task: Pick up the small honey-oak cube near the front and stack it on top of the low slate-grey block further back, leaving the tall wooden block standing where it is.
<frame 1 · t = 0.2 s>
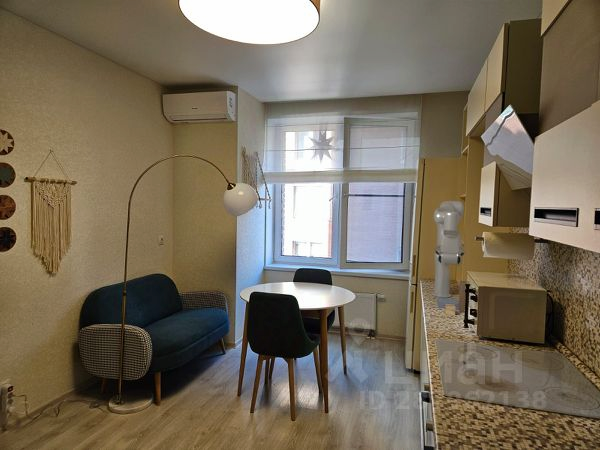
hand: (449, 263, 212), 30 cm above the worktop, tool pointing down, fingers open, 9 cm apart
slate base block: (447, 307, 230), on the worktop
oak cube: (450, 313, 215), on the worktop
wooden block: (467, 312, 219), on the worktop
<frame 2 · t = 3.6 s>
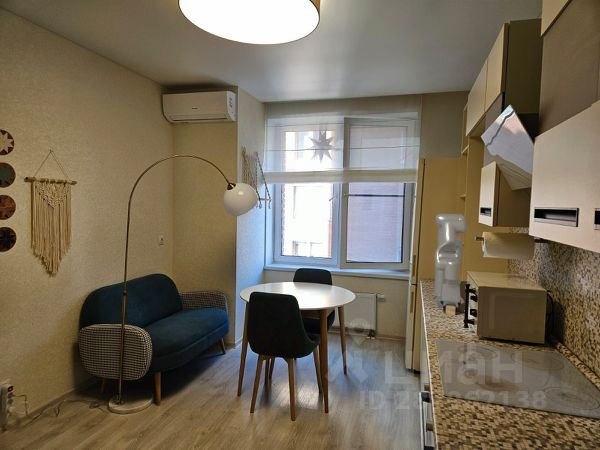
hand: (450, 312, 214), 1 cm above the worktop, tool pointing down, fingers closed on oak cube, 5 cm apart
oak cube: (450, 313, 214), on the worktop, touching gripper
everything else where it was.
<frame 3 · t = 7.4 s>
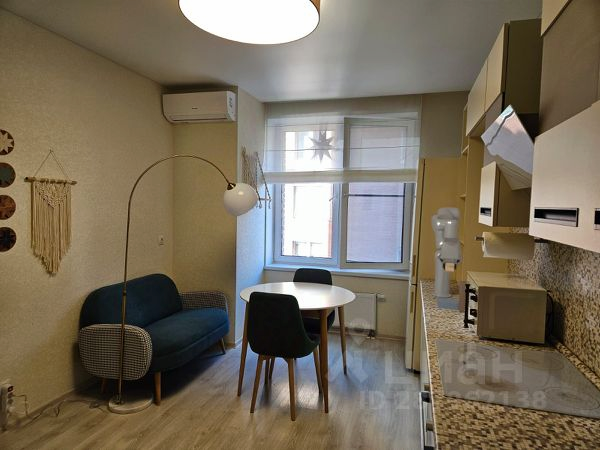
hand: (449, 269, 228), 23 cm above the worktop, tool pointing down, fingers closed on oak cube, 5 cm apart
oak cube: (449, 270, 228), point 23 cm above the worktop, touching gripper
everything else where it was.
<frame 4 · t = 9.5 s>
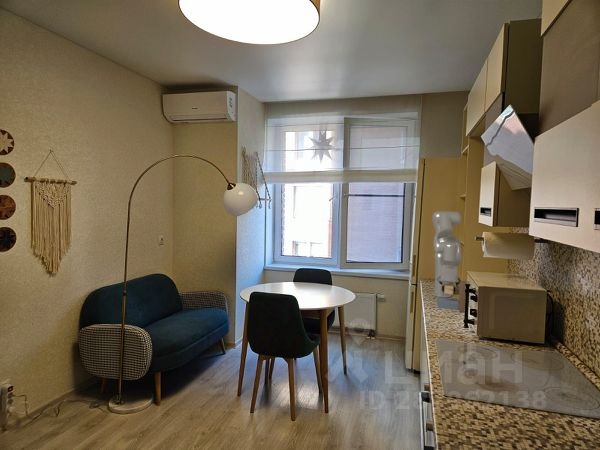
hand: (448, 292, 229), 9 cm above the worktop, tool pointing down, fingers closed on oak cube, 5 cm apart
oak cube: (448, 293, 229), point 8 cm above the worktop, touching gripper
everything else where it was.
when the fingers open (5 cm above the worktop, at t = 11.4 s): oak cube stays where it is, point 3 cm above the worktop.
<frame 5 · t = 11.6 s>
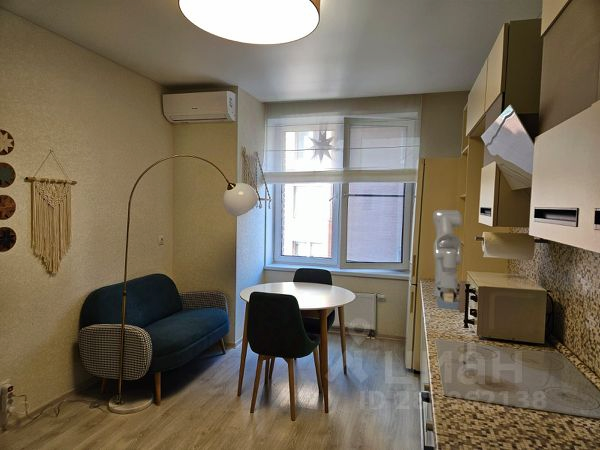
hand: (448, 298, 229), 5 cm above the worktop, tool pointing down, fingers open, 6 cm apart
oak cube: (448, 300, 229), point 3 cm above the worktop
everything else where it was.
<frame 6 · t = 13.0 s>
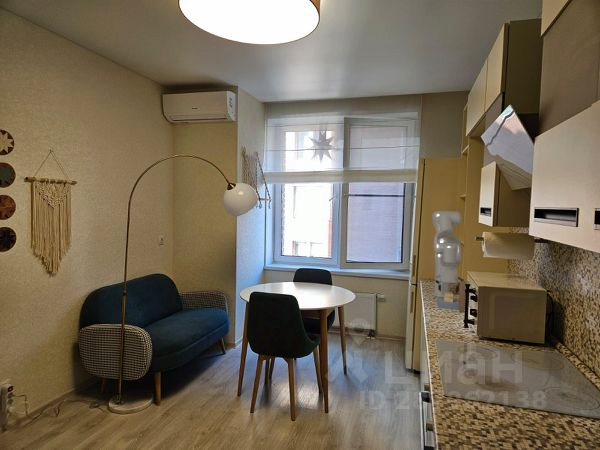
hand: (448, 291, 230), 9 cm above the worktop, tool pointing down, fingers open, 9 cm apart
slate base block: (447, 307, 230), on the worktop, touching oak cube
oak cube: (448, 301, 229), point 3 cm above the worktop, touching slate base block
everything else where it was.
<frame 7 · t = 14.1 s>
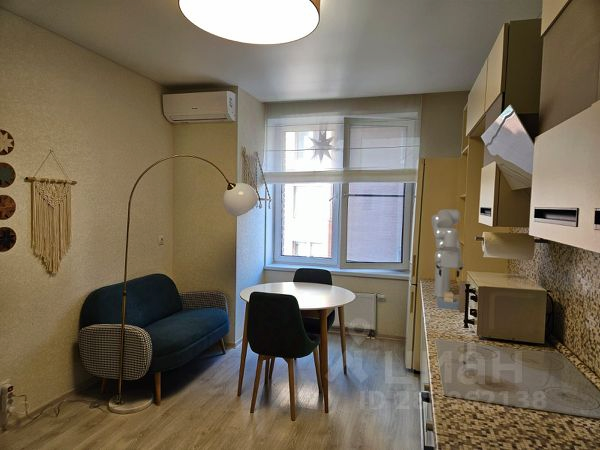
hand: (448, 276, 229), 19 cm above the worktop, tool pointing down, fingers open, 9 cm apart
slate base block: (447, 307, 230), on the worktop
oak cube: (448, 300, 229), point 3 cm above the worktop
everything else where it was.
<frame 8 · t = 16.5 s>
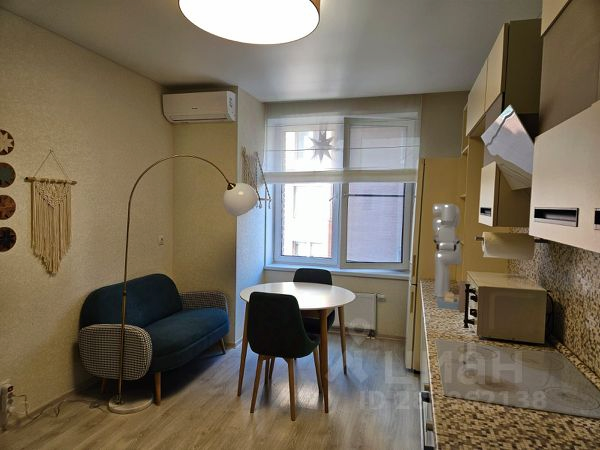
hand: (446, 250, 232), 34 cm above the worktop, tool pointing down, fingers open, 9 cm apart
nothing on the worktop moved.
at the end: oak cube inside the target area on the slate base block (0.3 cm from its centre), point 4.0 cm above the slate base block's base; oak cube tilted 0°; the gripper is holding nothing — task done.
